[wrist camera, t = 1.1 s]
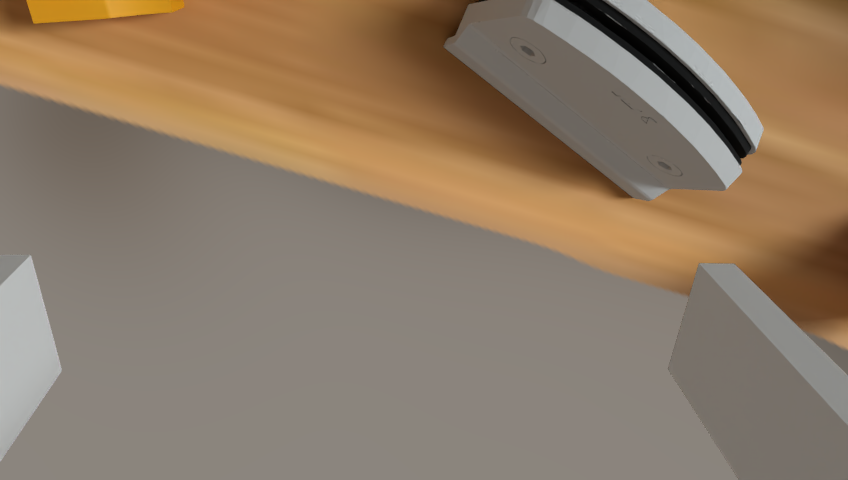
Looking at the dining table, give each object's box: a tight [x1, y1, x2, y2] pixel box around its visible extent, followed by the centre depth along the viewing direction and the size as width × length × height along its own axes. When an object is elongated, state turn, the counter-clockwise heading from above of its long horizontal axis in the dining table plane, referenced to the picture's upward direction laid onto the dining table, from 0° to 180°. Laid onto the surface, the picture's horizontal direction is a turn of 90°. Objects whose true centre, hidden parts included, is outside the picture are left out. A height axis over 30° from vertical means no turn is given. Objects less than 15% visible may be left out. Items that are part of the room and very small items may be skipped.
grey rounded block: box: [443, 0, 763, 201], centre depth 34 cm, size 17×5×10 cm, turn 52°
